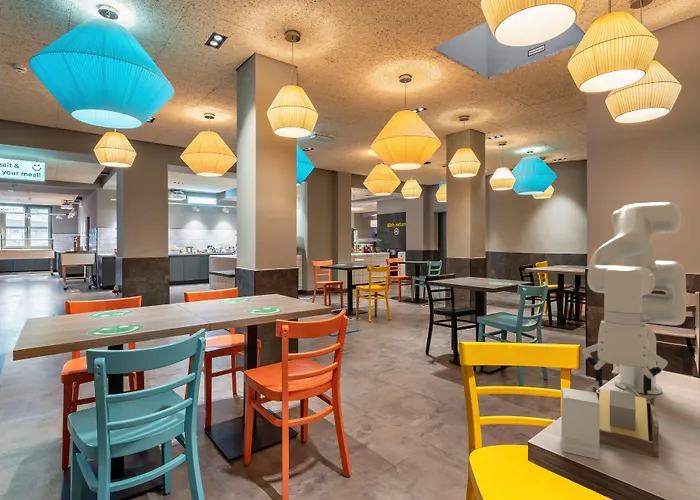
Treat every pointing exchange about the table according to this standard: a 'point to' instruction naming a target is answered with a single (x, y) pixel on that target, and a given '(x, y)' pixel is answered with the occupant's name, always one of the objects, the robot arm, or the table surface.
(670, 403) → the table surface
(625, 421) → the plain grey carton
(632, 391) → the ceramic fragment
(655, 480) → the table surface
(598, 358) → the robot arm
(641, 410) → the trapdoor
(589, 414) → the supplement box
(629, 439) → the trapdoor frame
